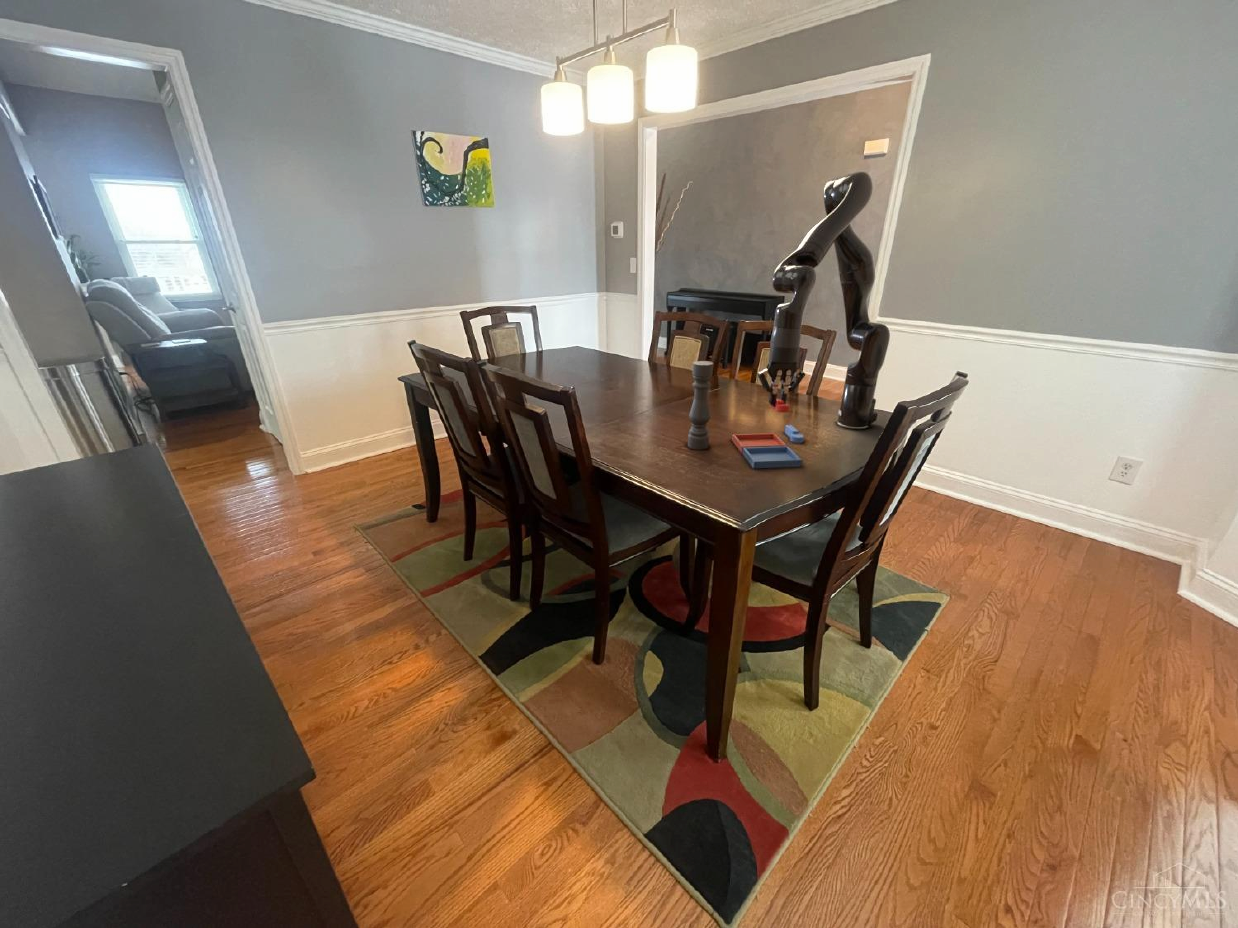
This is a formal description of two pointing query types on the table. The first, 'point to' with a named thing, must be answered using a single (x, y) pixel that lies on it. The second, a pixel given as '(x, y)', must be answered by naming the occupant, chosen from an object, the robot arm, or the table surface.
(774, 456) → the blue tray
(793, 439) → the blue stepped block
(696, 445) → the candle holder
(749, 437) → the red tray
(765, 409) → the table surface
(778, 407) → the red stepped block
